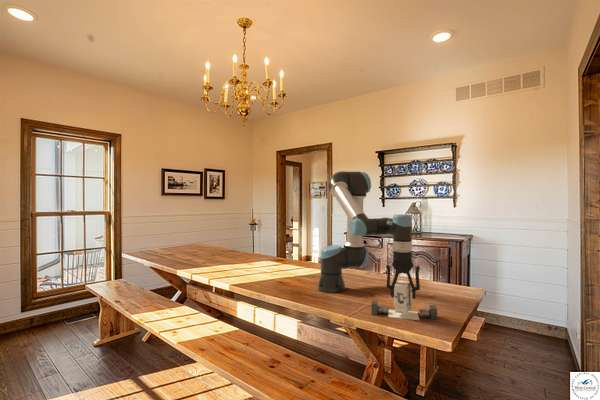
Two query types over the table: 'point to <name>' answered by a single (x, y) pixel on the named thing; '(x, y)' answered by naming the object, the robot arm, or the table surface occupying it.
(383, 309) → the shaft stub
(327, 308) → the table surface
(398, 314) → the pad
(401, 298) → the ink box
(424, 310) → the shaft stub
